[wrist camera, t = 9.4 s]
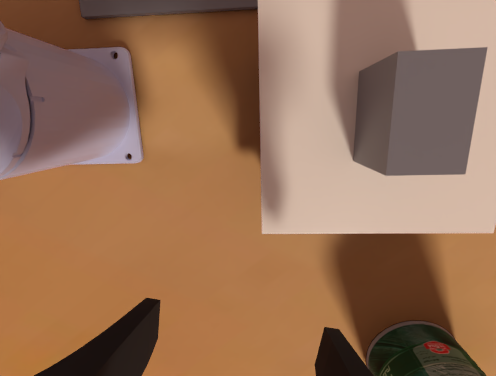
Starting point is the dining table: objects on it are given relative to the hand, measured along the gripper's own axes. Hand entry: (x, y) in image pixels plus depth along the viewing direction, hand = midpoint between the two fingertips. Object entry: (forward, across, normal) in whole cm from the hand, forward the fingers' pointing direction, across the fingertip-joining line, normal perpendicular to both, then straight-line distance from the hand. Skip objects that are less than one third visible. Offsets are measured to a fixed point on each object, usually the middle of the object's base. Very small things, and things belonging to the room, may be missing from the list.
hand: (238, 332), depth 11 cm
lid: (+6, -6, -10) cm, 13 cm away
